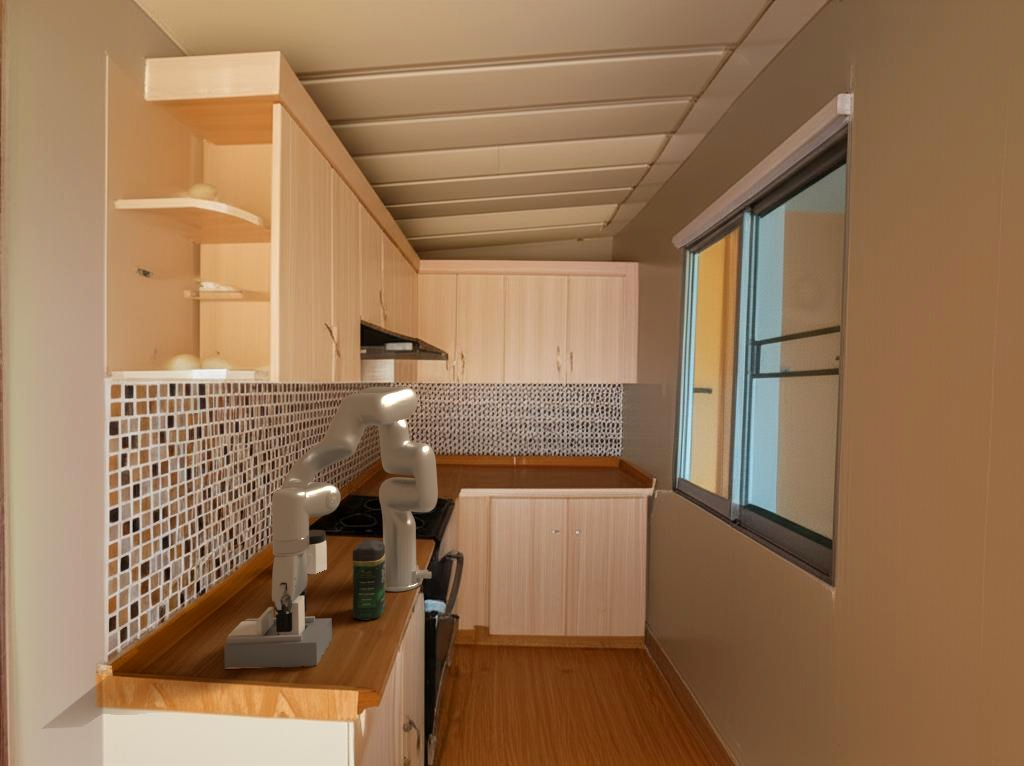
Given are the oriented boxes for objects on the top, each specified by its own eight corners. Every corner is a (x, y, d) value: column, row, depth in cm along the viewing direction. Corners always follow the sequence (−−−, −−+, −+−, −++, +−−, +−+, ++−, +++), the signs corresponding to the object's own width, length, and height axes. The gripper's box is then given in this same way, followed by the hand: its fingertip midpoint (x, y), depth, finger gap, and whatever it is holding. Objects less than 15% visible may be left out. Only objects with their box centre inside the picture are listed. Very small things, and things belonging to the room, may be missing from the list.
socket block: (331, 639, 129) (331, 613, 129) (316, 665, 117) (316, 637, 117) (248, 642, 127) (248, 617, 127) (224, 669, 115) (224, 641, 115)
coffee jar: (381, 620, 138) (380, 547, 138) (349, 622, 138) (348, 548, 138) (388, 605, 148) (387, 536, 148) (358, 606, 148) (357, 537, 147)
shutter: (273, 623, 125) (273, 607, 125) (261, 637, 118) (261, 620, 118) (242, 624, 125) (241, 608, 125) (227, 639, 118) (227, 621, 118)
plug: (305, 648, 124) (304, 585, 124) (299, 657, 120) (298, 592, 120) (286, 649, 124) (285, 585, 124) (279, 658, 120) (278, 592, 120)
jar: (294, 575, 172) (293, 537, 172) (302, 566, 180) (302, 530, 180) (322, 574, 172) (322, 536, 172) (330, 565, 181) (329, 529, 181)
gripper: (287, 534, 130) (288, 606, 131) (258, 557, 113) (259, 640, 113) (319, 533, 131) (320, 605, 131) (295, 556, 114) (296, 639, 114)
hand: (292, 621), depth 122 cm, fingers open, 9 cm apart
